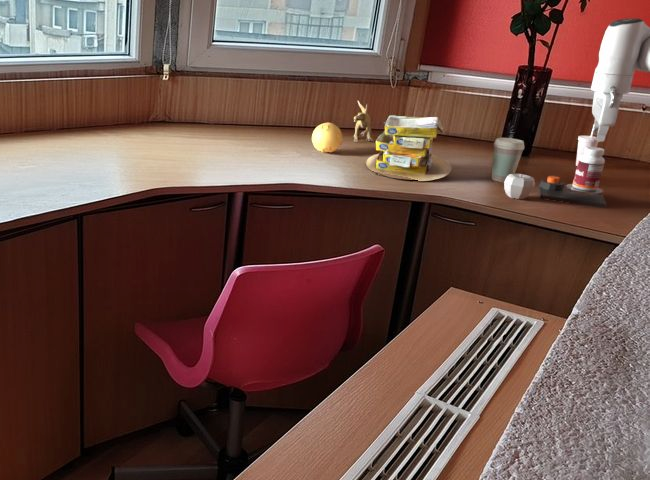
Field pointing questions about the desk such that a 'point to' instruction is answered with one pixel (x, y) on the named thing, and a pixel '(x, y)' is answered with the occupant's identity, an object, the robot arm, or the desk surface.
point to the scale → (568, 195)
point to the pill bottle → (589, 169)
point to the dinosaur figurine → (362, 124)
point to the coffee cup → (506, 157)
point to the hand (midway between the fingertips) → (598, 137)
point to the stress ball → (327, 137)
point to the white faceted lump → (518, 185)
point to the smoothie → (585, 144)
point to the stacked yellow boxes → (409, 149)
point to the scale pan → (573, 189)
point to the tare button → (553, 179)
